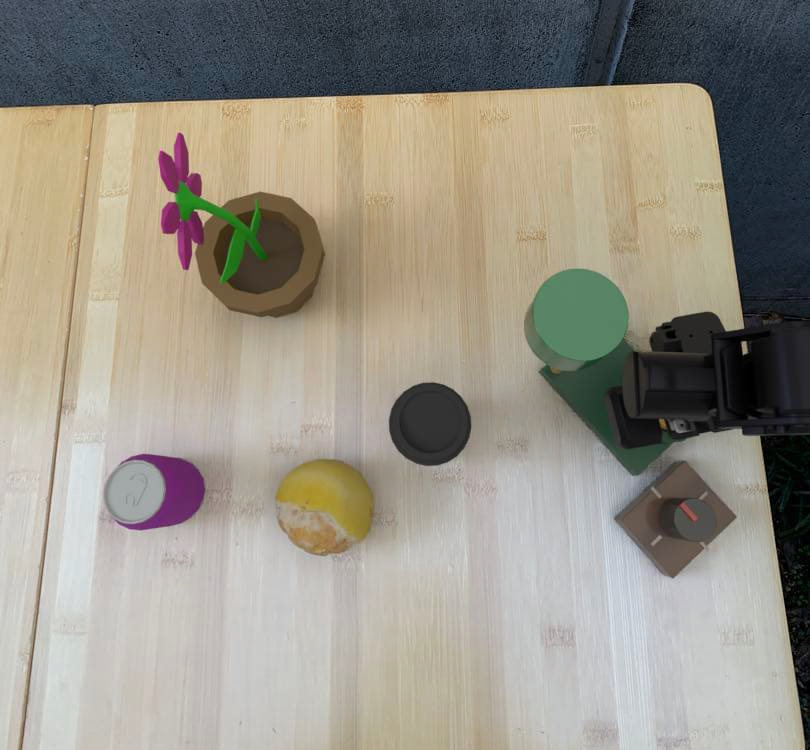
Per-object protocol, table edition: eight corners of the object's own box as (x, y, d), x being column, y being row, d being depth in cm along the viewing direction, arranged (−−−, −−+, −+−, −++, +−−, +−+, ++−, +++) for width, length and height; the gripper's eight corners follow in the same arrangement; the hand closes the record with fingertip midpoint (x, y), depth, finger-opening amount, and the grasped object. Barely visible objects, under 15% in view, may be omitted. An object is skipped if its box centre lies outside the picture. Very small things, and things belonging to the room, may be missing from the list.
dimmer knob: (707, 520, 75) (727, 523, 70) (679, 548, 74) (697, 551, 70) (678, 489, 76) (696, 489, 71) (650, 515, 75) (666, 517, 70)
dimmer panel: (727, 518, 78) (740, 519, 75) (665, 577, 76) (675, 581, 73) (673, 459, 79) (683, 458, 76) (611, 516, 78) (619, 517, 75)
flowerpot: (222, 227, 88) (125, 96, 59) (333, 223, 88) (291, 90, 58) (218, 335, 84) (113, 254, 55) (334, 331, 84) (290, 247, 55)
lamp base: (695, 420, 81) (709, 417, 77) (633, 477, 79) (644, 477, 75) (599, 319, 84) (608, 310, 80) (538, 372, 82) (544, 366, 78)
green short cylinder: (630, 332, 61) (649, 319, 57) (566, 389, 60) (579, 380, 55) (569, 268, 63) (582, 249, 58) (505, 322, 62) (512, 308, 57)
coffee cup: (449, 480, 79) (456, 478, 65) (382, 454, 80) (375, 447, 66) (472, 412, 81) (484, 396, 67) (407, 388, 82) (405, 367, 68)
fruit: (287, 459, 80) (270, 455, 71) (378, 462, 80) (373, 458, 70) (280, 550, 78) (261, 558, 68) (374, 553, 77) (368, 563, 68)
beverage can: (195, 532, 78) (156, 540, 67) (132, 516, 79) (83, 520, 67) (215, 466, 80) (181, 462, 69) (154, 450, 81) (110, 444, 69)
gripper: (810, 289, 63) (733, 328, 78) (612, 324, 62) (574, 356, 77) (850, 408, 60) (763, 424, 75) (644, 446, 59) (598, 455, 75)
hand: (673, 412), depth 76 cm, fingers closed, pressing on lamp switch
